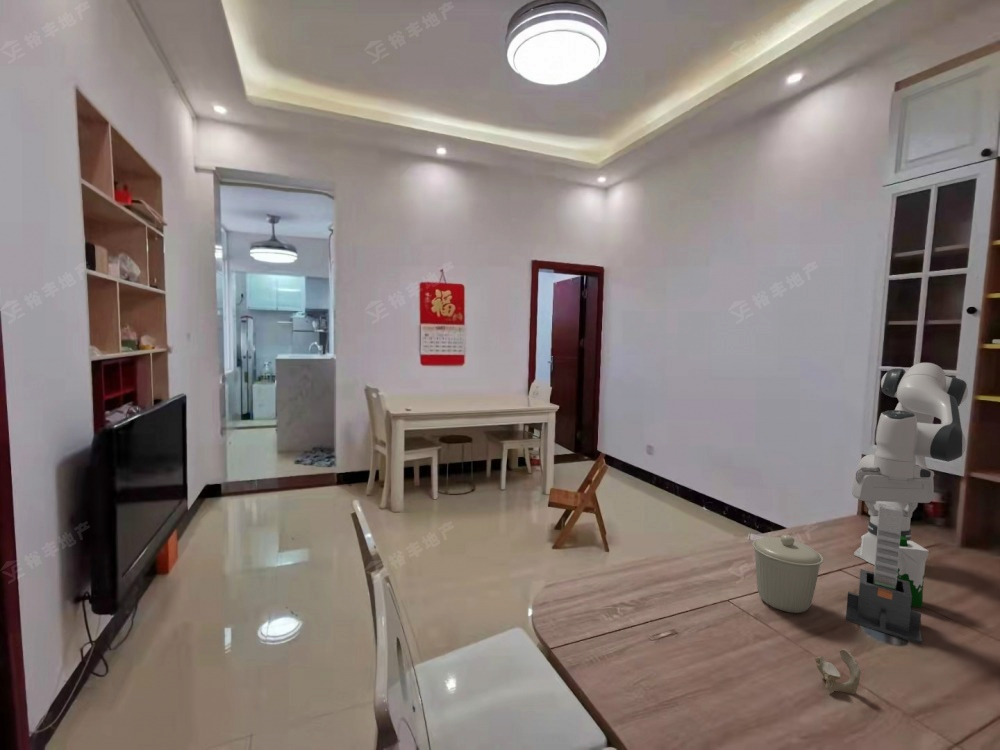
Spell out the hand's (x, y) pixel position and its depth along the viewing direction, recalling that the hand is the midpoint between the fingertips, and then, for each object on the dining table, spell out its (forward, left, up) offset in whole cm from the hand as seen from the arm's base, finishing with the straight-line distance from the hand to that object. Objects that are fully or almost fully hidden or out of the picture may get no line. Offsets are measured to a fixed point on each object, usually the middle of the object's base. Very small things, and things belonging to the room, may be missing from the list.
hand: (889, 516), depth 129 cm
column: (+1, 0, -21) cm, 21 cm away
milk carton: (-18, +5, -30) cm, 36 cm away
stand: (0, 0, -30) cm, 30 cm away
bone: (+43, -9, -31) cm, 54 cm away
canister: (+10, -23, -30) cm, 39 cm away
